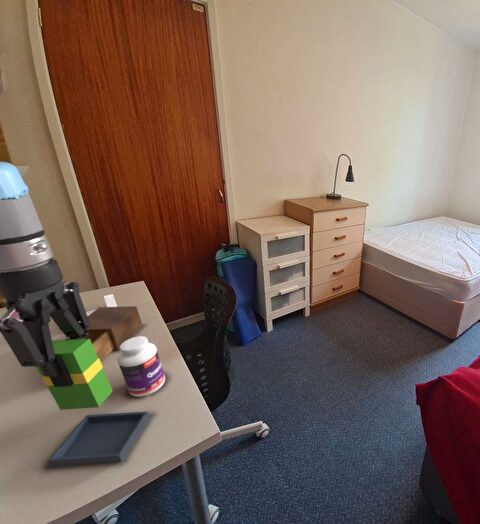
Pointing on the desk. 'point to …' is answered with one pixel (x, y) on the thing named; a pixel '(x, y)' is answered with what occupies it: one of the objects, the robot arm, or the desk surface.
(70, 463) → the tray
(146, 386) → the pill bottle
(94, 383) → the yellow-banded green block
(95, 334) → the drawer
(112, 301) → the bracket
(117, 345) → the cabinet
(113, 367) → the desk surface
